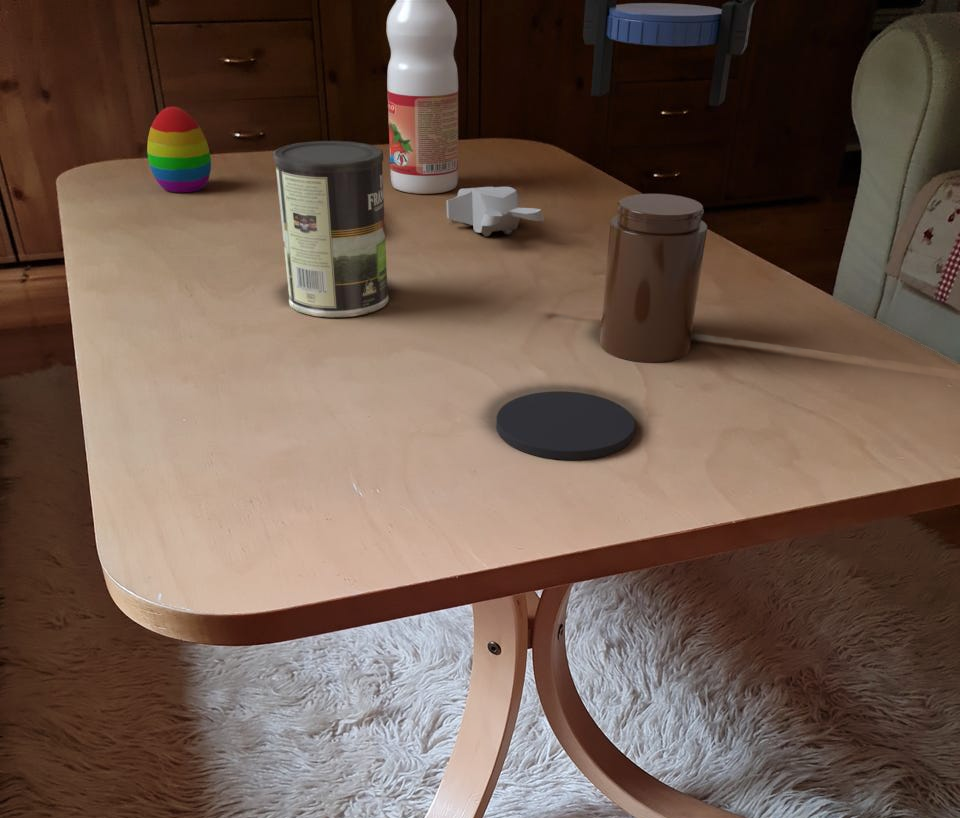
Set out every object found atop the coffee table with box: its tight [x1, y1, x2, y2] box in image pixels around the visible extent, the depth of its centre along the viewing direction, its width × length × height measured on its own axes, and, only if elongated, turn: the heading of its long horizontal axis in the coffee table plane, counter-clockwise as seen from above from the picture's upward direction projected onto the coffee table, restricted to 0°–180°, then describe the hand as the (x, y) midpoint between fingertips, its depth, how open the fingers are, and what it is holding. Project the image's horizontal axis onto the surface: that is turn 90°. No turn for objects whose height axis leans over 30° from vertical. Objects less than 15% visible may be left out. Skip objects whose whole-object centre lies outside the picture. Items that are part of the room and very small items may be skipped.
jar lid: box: [606, 2, 722, 47], centre depth 76 cm, size 9×9×2 cm
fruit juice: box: [385, 0, 459, 195], centre depth 133 cm, size 9×9×28 cm
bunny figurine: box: [445, 185, 545, 237], centre depth 123 cm, size 10×5×15 cm
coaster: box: [495, 390, 636, 461], centre depth 80 cm, size 11×11×1 cm
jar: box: [599, 193, 708, 363], centre depth 91 cm, size 8×8×13 cm
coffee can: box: [272, 140, 390, 318], centre depth 99 cm, size 10×10×14 cm
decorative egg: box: [146, 106, 212, 194], centre depth 136 cm, size 8×8×10 cm
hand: (657, 97), depth 79 cm, fingers closed on jar lid, 9 cm apart
